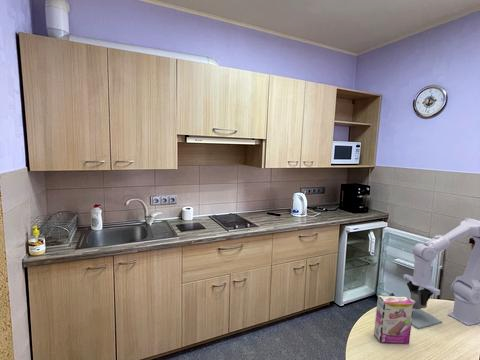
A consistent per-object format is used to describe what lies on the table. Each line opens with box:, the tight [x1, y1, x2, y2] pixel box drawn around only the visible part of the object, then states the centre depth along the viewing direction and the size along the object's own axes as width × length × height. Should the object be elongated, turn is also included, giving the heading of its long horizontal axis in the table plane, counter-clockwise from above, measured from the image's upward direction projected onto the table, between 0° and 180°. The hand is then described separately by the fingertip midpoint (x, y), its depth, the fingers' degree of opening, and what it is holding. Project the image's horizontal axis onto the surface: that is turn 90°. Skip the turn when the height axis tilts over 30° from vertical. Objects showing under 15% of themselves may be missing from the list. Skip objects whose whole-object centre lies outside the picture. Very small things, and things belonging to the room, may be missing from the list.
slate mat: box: [411, 308, 443, 331], centre depth 110 cm, size 14×11×1 cm
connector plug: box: [408, 289, 428, 310], centre depth 108 cm, size 10×4×6 cm, turn 108°
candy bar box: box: [373, 295, 414, 345], centre depth 95 cm, size 11×5×16 cm, turn 89°
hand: (418, 302), depth 109 cm, fingers closed on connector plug, 4 cm apart
